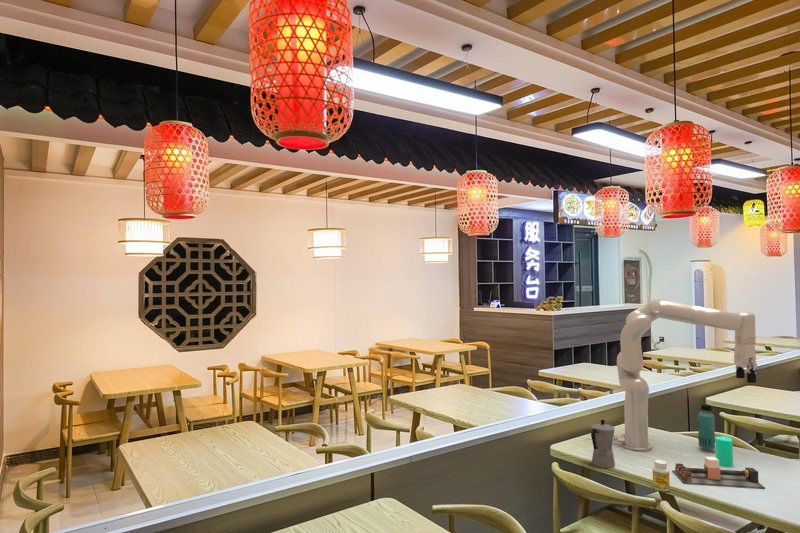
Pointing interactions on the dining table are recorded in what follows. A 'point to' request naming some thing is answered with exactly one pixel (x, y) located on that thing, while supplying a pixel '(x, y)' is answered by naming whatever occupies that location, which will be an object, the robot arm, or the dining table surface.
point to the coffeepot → (602, 445)
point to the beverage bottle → (706, 428)
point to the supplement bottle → (661, 476)
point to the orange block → (712, 468)
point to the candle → (724, 451)
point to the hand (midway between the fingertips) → (745, 380)
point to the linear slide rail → (727, 477)
